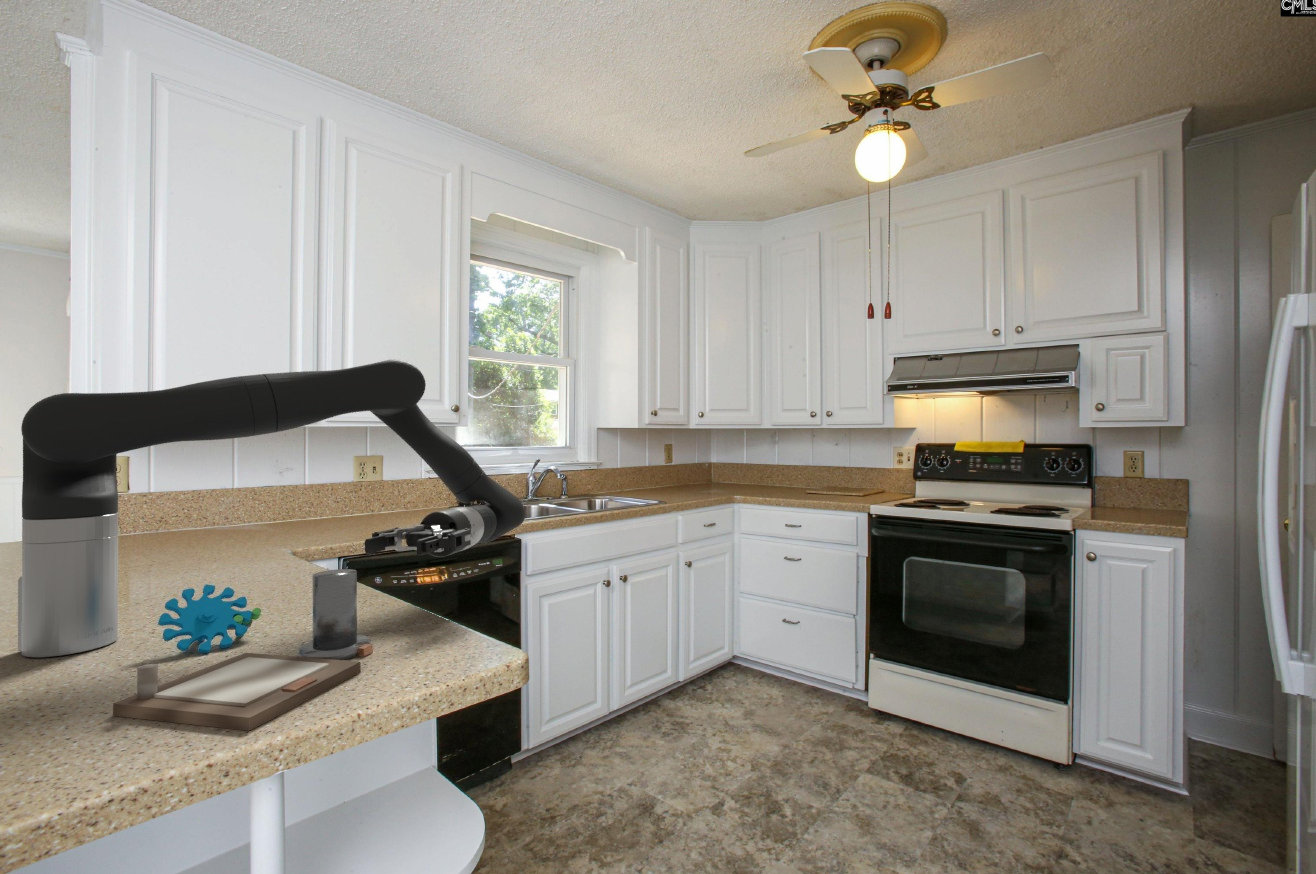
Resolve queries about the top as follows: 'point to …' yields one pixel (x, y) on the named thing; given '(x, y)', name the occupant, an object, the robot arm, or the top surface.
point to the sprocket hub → (335, 618)
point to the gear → (207, 618)
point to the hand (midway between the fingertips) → (392, 547)
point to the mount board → (234, 690)
